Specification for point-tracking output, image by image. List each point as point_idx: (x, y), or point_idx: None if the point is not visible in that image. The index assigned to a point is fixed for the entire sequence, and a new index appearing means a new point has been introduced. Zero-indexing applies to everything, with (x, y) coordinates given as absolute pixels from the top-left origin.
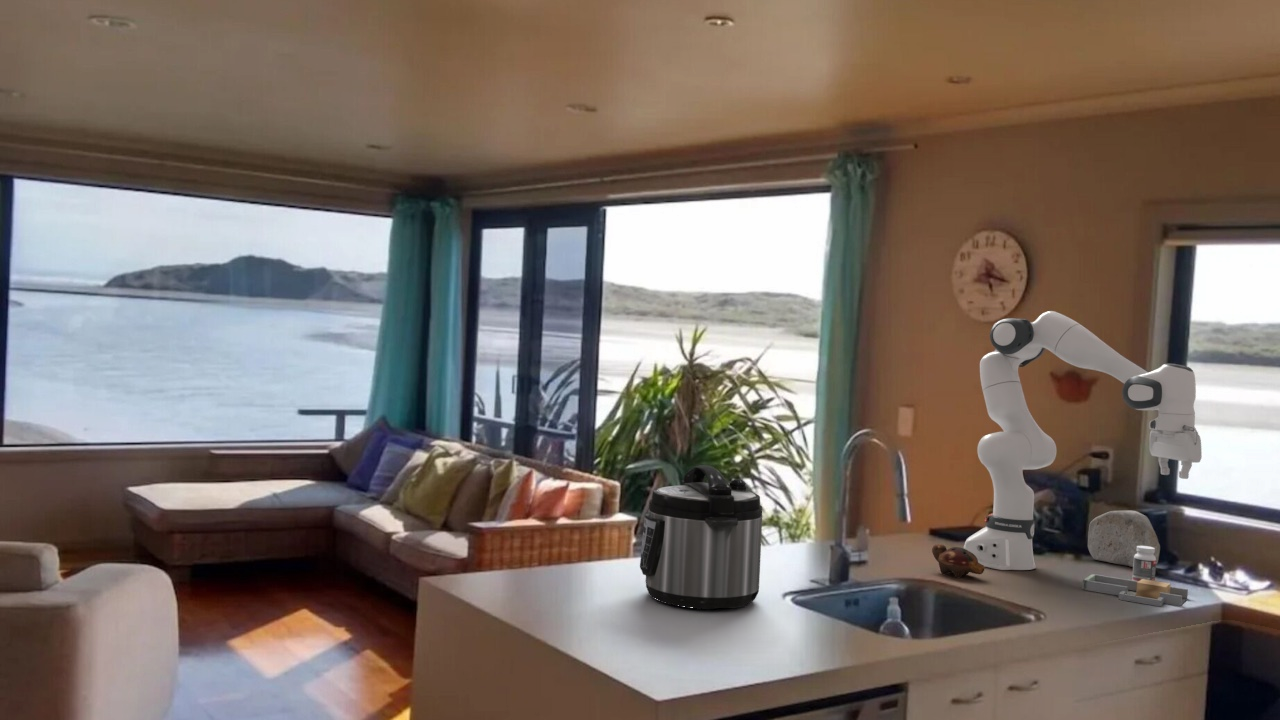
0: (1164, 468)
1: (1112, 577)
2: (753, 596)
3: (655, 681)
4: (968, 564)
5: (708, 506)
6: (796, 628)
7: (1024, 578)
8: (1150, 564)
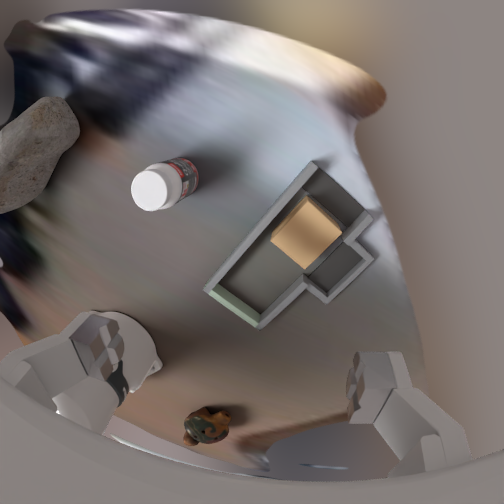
0: (104, 376)
1: (226, 268)
2: None
3: None
4: (228, 430)
5: None
6: None
7: (203, 362)
8: (185, 182)
